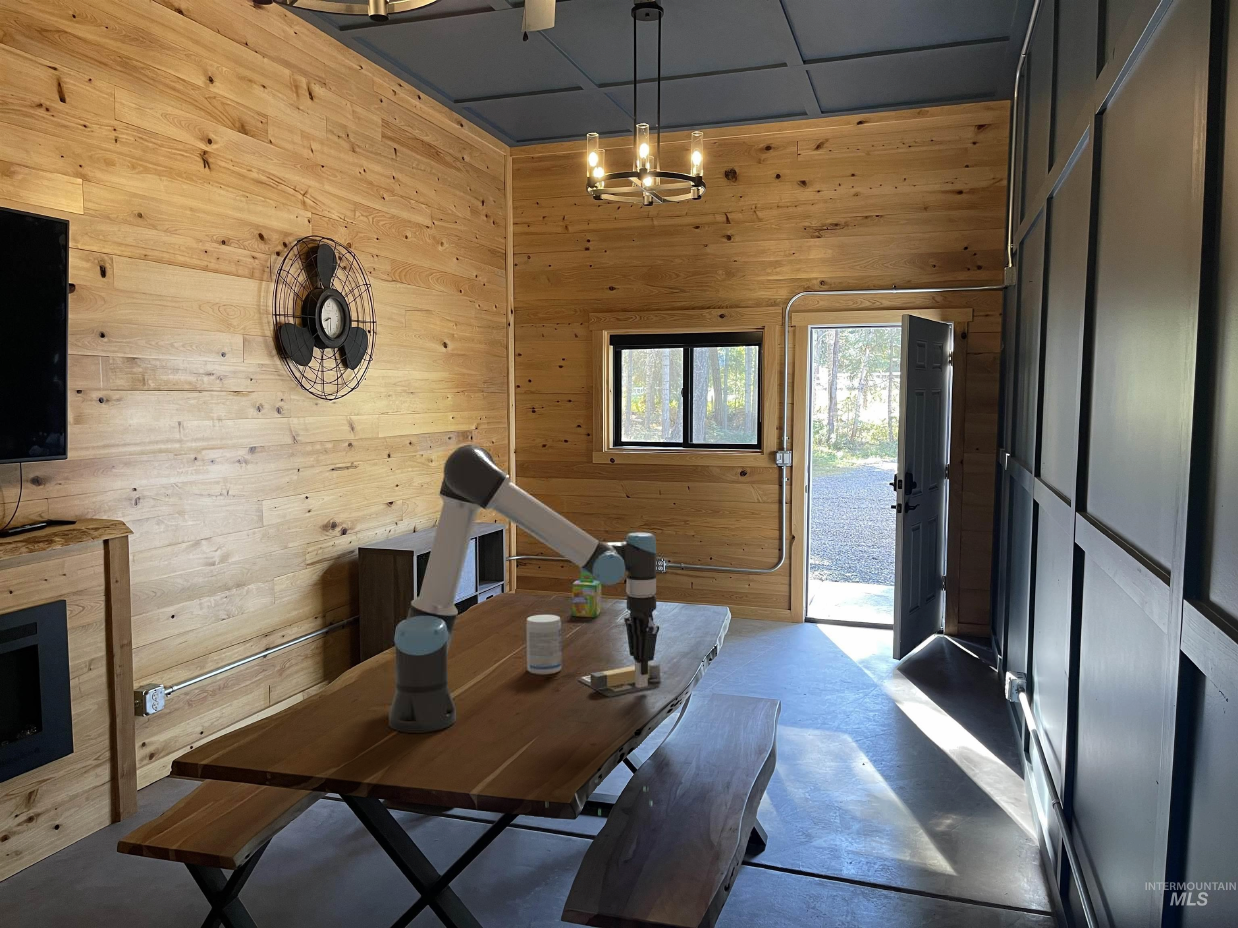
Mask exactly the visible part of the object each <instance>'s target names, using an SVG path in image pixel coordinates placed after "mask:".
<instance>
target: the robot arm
mask: <svg viewBox="0 0 1238 928" xmlns="http://www.w3.org/2000/svg"><path fill="white" fill-rule="evenodd" d="M439 497H440V499H441V500H442V503H443V504H442V508H441V510H440V515H439V520H438V523H437V527H436V531H435V534H434V538H433V542H432V546H431V549H430V553H429V558H428V561H427V565H426V569H425V573H424V577H423V581H422V585H421V588H420V592H419V596H418V597H416V598H414V599H413V600H411V601H410V602H411V603H410V605H409V610H408V613H407V617H406V619H403V620H402V621H399V623H398V624H397V625H396V627H395V634H394V638H393V639H394V646H395V694H394V697H393V700H392V703H391V706H390V710H389V713H388V726H389V727H390V728H391V729H392V730H394V731H396V732H401V733H406V734H409V733H410V734H419V733H420V734H422V733H431V732H436V731H439V730H443V729H446V728H448V727H450V726H451V725H454V723H455V721H456V720H457V715H456V714H457V712H456V711H457V710H456V707H455V704H454V701H453V698H452V695H451V691H450V690H449V686H448V684H449V683H448V651H449V649H450V645H451V643H452V641H453V636H454V629H455V626H456V625H455V624H456V621H457V617H458V614H459V613H458V612H459V611H458V609H457V608H456V606H455V601H456V600H455V599H456V597H457V593H458V589H459V585H460V582H461V578H462V574H463V569H464V567H465V564H466V563H465V562H466V558H467V555H468V551H469V546H470V543H471V540H472V539H471V538H472V535H473V531H474V528H475V524H476V520H477V517H478V511H480V510H481V509H483V510H484V511H485V510H486V511H487V510H493V511H495V512H496V513H498V514H499V515H500V516H502V517H503V518H505V519H507V520H508V521H509V522H511V523H513V524H514V525H516V526H517V527H519V528H520V529H522V530H523V531H525V532H526V533H528V534H529V535H531V536H532V537H533V538H535V539H537V540H538V541H540V542H541V543H543V544H544V545H546V546H548V547H549V548H550V549H552V550H554V551H555V552H557V553H559V555H561V556H563V557H564V558H566V559H567V560H569V561H571V562H572V563H573V564H576V566H578V567H579V571H580V573H581V572H584V573H590V574H591V575H593V578H594V579H595V580H597V581H599V582H601V585H606V586H612V585H616V584H618V582H621V580H622V579H623V578H624V576H625V572H626V587H625V588H626V589H625V590H626V594H627V595H626V609H627V610H628V612H629V616H626V617H624V618H623V620H624V624H625V626H626V627H625V628H626V634H627V643H628V651H629V656H630V657H633V658H632V659H633V660H634V666H635V686H636V687H638V688H640V687H645V686H648V663H650V662H653V661H654V659H655V654H656V653H655V651H656V644H657V640H658V639H657V638H658V634H659V631H660V626H659V625H656V624H655V622H654V616H653V612H654V611H655V610H657V596H656V595H655V594H656V593H657V553H658V552H657V544H656V542H657V540H656V539H657V538H656V536H655V535H654V534H653V533H649V532H630V533H628V534H626V537H625V538H626V539H625V541H612V542H609V541H603V542H602V541H599V540H598V539H596V538H595V537H594V536H592V535H590V534H588V533H587V532H586V531H584V530H583V529H582V528H580V527H578V526H577V525H576V524H574V523H572V522H571V521H569V520H568V519H566V518H565V517H564V516H563V515H561V514H559V513H558V512H557V511H555V510H553V509H552V508H550V507H548V506H547V505H546V504H544V503H543V502H541V501H540V500H538V499H537V498H535V497H534V496H532V495H531V494H529V493H528V492H526V491H525V490H523V489H522V488H521V487H519V486H517V485H516V484H515V483H512V482H511V480H510V477H509V474H507V473H506V472H504V471H503V470H501V469H500V468H499V467H498V466H496V465H495V460H494V458H493V457H492V455H491V453H490V452H489V451H487V450H486V449H485V448H484V447H481V446H478V445H473V444H468V445H467V444H465V445H463V446H460V447H458V448H456V449H455V450H454V451H453V452H452V453H451V454H450V455H449V456H448V457H447V459H446V460H445V463H444V466H443V477H442V481H441V484H440V490H439Z"/></svg>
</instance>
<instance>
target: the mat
mask: <svg viewBox="0 0 1238 928" xmlns="http://www.w3.org/2000/svg"><path fill="white" fill-rule="evenodd" d="M577 681H578V682H579V683H582V684H584V685H586V686H587V687H589V688H591V689H593V690H595V691H597V692H599V693H601V694H602V695H604V696H606V697H608V698H611V697H612V698H613V697H617V696H621V695H627V694H632V693H637V692H641V691H646V690H651V689H655V688H656V686H655V685H654V684H649V683H648V686H645V687H640V688H638V687H636V686H635V681H633V682H628V683H625V684H627V685H629V686H631V687H632V688H630V689H625V690H620V691H613V690H611V689H609V688H607V687H605V688H600V689H596V688H594V687H592V686H591V682H587V681H585V680H583V679H581V678H578V679H577Z"/></svg>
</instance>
